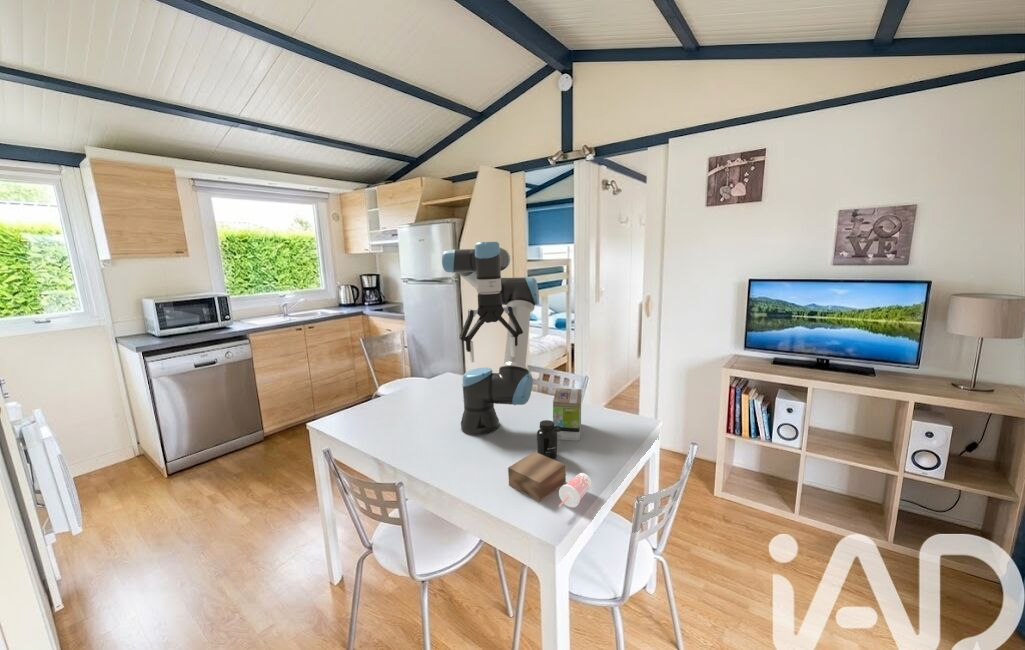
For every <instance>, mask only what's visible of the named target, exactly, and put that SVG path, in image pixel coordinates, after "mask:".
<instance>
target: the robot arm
mask: <svg viewBox="0 0 1025 650" xmlns="http://www.w3.org/2000/svg"><path fill="white" fill-rule="evenodd" d="M510 263H511V256H510V253H509V252H508V251H507V250H506V249H504V248H502V247H500V243H499V242H498V241H478V242H476V243H475V246H474V248H470V249H469V248H466V249H463V248H462V249H461V248H460V249H455V248H453V249H449V250H445V251H443V253H442V256H441V264H442V268H443V270H444V272H446V273H453V274H454V273H457V274H458V275H459V276H460V277H462V278H463V279H464V280H465V281H466V282H467V283H469V284H470V285H471V287H473V288H474V289H476V292H477V309H471V308H469V309H468V310H467V317H466V320H465V322H464V325H463V328H462V330H461V332H460V335H459V339H460V340H461V341H462V342H465V350H466V352H468V353H469V360H470V362H471V363H475V353H474V352H475V351H474V349H475V348H474V341H472V339H473V338H474V336H475V335H476V334H477V333H478V332H479V330H480V328H482V326H483V325H485V323H487V324H489V323H497V322H500V323H501V324H502V325H503V327H505V329H506V330H507V331H506V332H507V333H506V341H505V342H506V343H505V351H504V360H503V364H502V365H501V366H500V367H499V370H498V373H497V372H493V370H492V368H491V367H480V368H479V367H478V368H474V369H471V370H468V371H466V372H465V373H464V374H463V375H462V384H461V386H462V393H463V395H462V396H463V413H462V417H461V422H460V430H461V431H462V432H463V433H465V434H467V435H472V436H481V435H482V436H484V435H488V434H491V433H494V432H495V431H497V430H498V429H499V427H500V420H499V419H500V418H499V417H498V415H497V412H496V409H495V405H496V404H497V405H510V406H511V405H513V406H519V405H520V406H522V405H526V404H527V403H528V402H529V400H530V397H531V393H532V389H533V380H534V379H533V376H532V374H530V370H529V369H528V367H526V365H527V354H528V342H529V331H530V322H531V313H532V312H533V311H534V310H535V308H536V307H535V306H537V305H539V304H540V293H539V292H540V291H539V286H538V282H537V280H536V278H535V277H531V276H530V277H527V276H524V277H502V275H501V274H502V272H501V271H504V270H505V269H507V268H508V267H509V266H510ZM504 312H505V314H507V316H508V322H507V321H506V320H505V318H504V317H503V313H504ZM476 315H478V316H479V317H478V319H477V321H476V323H474V325H473V326H472V328H471V329H470V327H471V325H472V323H473V320H474V318H475V317H476ZM469 330H470V331H469ZM494 404H495V405H494Z"/></svg>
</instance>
